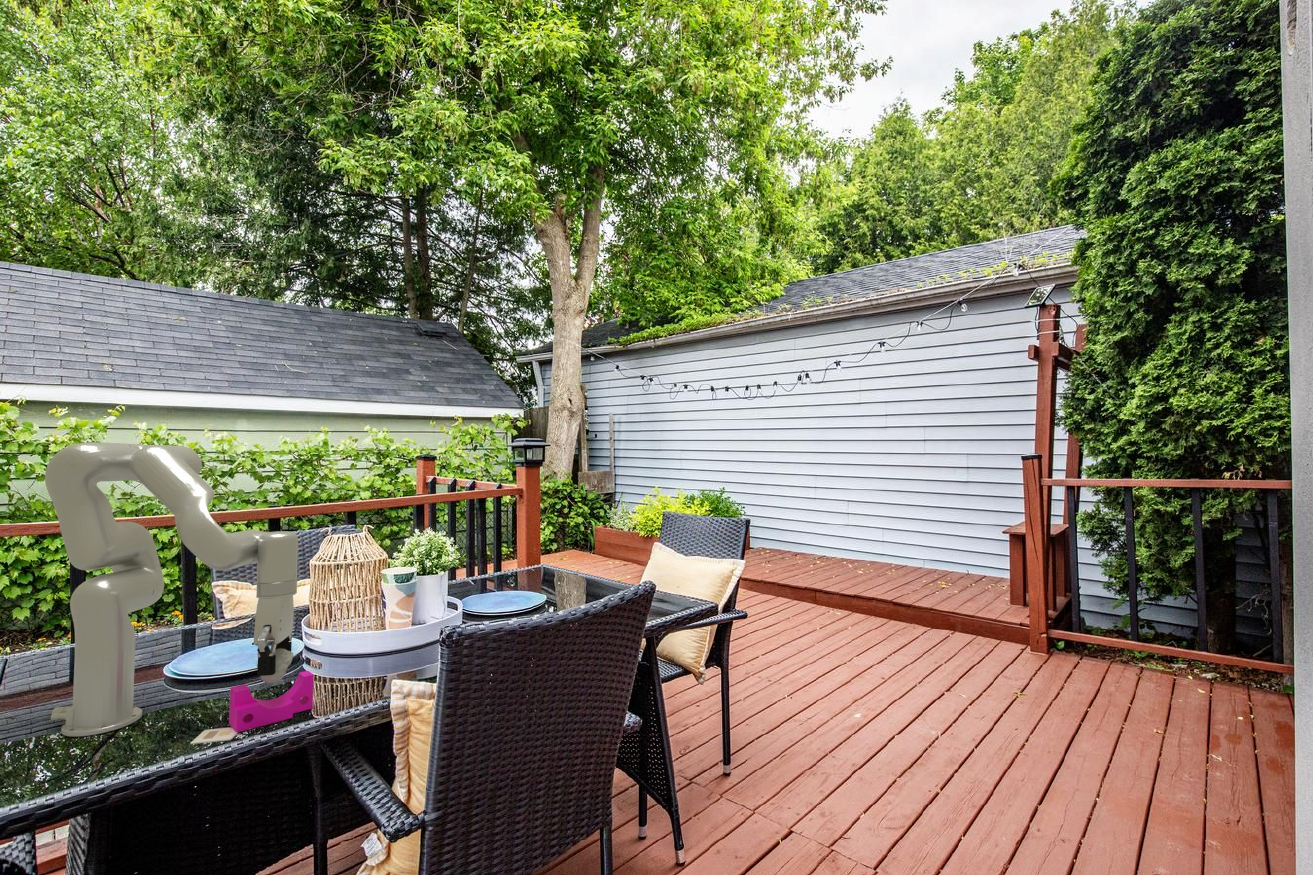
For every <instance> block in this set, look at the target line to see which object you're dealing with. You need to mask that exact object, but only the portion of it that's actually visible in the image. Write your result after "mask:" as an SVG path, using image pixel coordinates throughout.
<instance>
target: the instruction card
mask: <svg viewBox="0 0 1313 875" xmlns="http://www.w3.org/2000/svg"><path fill="white" fill-rule="evenodd" d="M237 734H239V732H237V733H236V732H235V731H234V730H233V728H232V727H231V726H230V727H222V728H221V727H220V728H214V729H213V728H211V729H210V728H209V729H204V730H203V731H202V732H201V733H200V734H199V735H198V736H196V738H194V739H192V741H191V742H190V743H189V745H195V744H203V743H204V744H205V743H215V742H216V743H217V742H224V741H226V742H227V741H231V740H232V739H233V738H234V737H235V736H237Z"/></svg>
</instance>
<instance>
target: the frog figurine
mask: <svg viewBox="0 0 1313 875" xmlns="http://www.w3.org/2000/svg"><path fill="white" fill-rule="evenodd" d="M274 655H276V672H275V674H274V675H267V676H259V678H260V679H261V681H262V682H264V683H267V684H274V683H278V682H279V681H281V680H282V679H283V678H284V677H285V675H286V674H287V669H288V667H289V666H291V664H292V661H293V659H294V652H292V650H291V651H287V650H286V649H281V648H279V649H276V650H275V652H274ZM256 668H257V670H258V663H257V664H256Z"/></svg>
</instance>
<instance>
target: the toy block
mask: <svg viewBox="0 0 1313 875" xmlns="http://www.w3.org/2000/svg"><path fill="white" fill-rule="evenodd" d="M314 678H315V674H314V673H313V672H311V671H310V670H305V671H301V672H298V674H297V678H296V680H295V682H294V683H293V685H292V686H291V687H290V689H288V691H286V692H284V693H283V694H282V695H280V696H279V697H276V698H273V699H272V698H271V699H268V700H262V699H257V698H256V697H253V695H252V693H251V689H250V687H249V686H248V685H247V684H242V685H241V684H240V685H237V686H231V687H230V690H229V691H230V692H229V710H228V711H229V712H228V714H229V715H228V724H229V726H230V727H232V728H233V730H234V731H235V732H236V733H237V732H238V733H241V732H245V731H248V730H251V729H255V728H256V729H257V728H259V727H263V726H268V725H271V724H274V723H278V722H283V721H285V720H289V719H293V718H294V714H296V713H300V712H303V711H308V710H312V709H313V708H314V707H313V706H314ZM238 733H237V734H238Z"/></svg>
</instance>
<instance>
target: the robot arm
mask: <svg viewBox="0 0 1313 875" xmlns="http://www.w3.org/2000/svg"><path fill="white" fill-rule="evenodd" d="M202 468H203V462H202V459H201V457H200V455H199V454H198V453H197V452H196V451H195V450H194V449H192V448H190V447H188V446H184V445H170V444H169V445H168V444H154V445H153V444H141V443H140V444H139V443H117V442H115V443H114V442H97V441H96V442H94V441H91V442H80V443H75V444H72V445H69V446H67V447H64V448H63V449H61V450H59V451H58V452H57V453H56V454H54V455H53V456H52V458H51V459H50V460H49V462H48V464H47V466H46V468H45V474H44V482H45V487H46V490H47V492H48V496H49V497H50V500H51V502H52V505H53V506H54V510H55V512H56V516H57V520H58V525H59V528H60V533H61V537H62V540H63V543H64V548H65V550H66V551H65V552H66V554H67V557H68V559H69V563H70V564H71V565H72V566H73V567H74V568H76V569H77V570H81V571H94V570H100V569H105V568H110V567H111V569H112V571H113V572H110V573H109V572H108V573H105V574H101V575H97V576H94V577H91V578H89V579H87V580H85V581H83V582H82V583H81V584H79V585H78V586H77V587H76V588H75V589H74V591H73V592H72V594H71V597H70V599H69V600H70V602H69V606H70V607H69V608H70V613H71V618H72V622H73V628H74V669H73V672H74V673H73V692H72V693H73V694H72V705H71V706H60V707H59V706H58V707H57V706H56V707H54V708H53V709H52V711H51V716H50V720H51V721H59V720H64V721H65V723H64V724H62V725H61V728H60V729H61V731H60V732H61V734H62V735H64V736H66V737H72V738H73V737H75V738H76V737H78V738H79V737H86V736H88V737H89V736H96V735H99V734H105V733H109V732H112V731H115V730H118V729H122V728H125V727H127V726H129V725H132V724H133V723H135V722H137V721H138V720H140V719H141V718H142V716H143V709H142V708H140V707H137V706H134V694H135V692H134V690H135V665H136V664H135V663H136V662H135V661H136V660H135V659H136V632H135V627H134V625H133V623H132V621H131V619H130V616H129V614H130V613H133V612H136V611H140V610H143V609H145V608H148V607H150V606H152V605H153V604H155V603H156V602H158V601H159V600H160V598H161V597H162V595H163V593H164V589H165V579H164V574H163V571H162V570H163V569H162V566H161V562H160V559H159V556H158V552H157V549H156V548H157V546H156V545H155V541H154V538H153V536H152V534H151V533H150V531H149V530H148V529H147V528H146V527H144V525H142V524H140V523H137V522H133V521H119V522H117V521H116V519H115V517H114V513H113V508H112V504H111V503H110V501H109V499H108V497H107V495H105V493H104V492H103V491H102V490H101V489H100V488H99V487H98V483H99V482H121V481H124V482H128V481H132V482H133V481H134V482H135V481H137V482H140V483H141V484H142V485H143V486H144V487H145V488H146V489H147V490H148V491H149V492H150V493H151V494H152V495H153V496H154V497H155V498H156V499H157V500H158V501H159V502H160V503H161V504H162V505H164V507H165V508H166V509H167V510H168V511H169V512H171V513H172V514H173V516H174V520H175V521H174V523H175V527H176V531H177V532H178V533H177V534H178V536H179V538H180V540H181V543H182V544H183V545H184V546H185V547H186V548H187V550H189V551H190V553H192V554H193V555H194V556H195V557H196V558H197V559H198V560H199V561H200V562H202V563H203V564H204V565H206V567H209V568H210V569H213V570H216V571H221V572H222V571H230V570H233V569H236V568H240V567H241V568H242V567H244V566H248V565H252V564H256V563H257V564H256V598H257V599H258V601H257V603H256V610H255V619H254V630H253V631H254V632H253V645H254V646H257V649H256V651H257V664H258V669H257V676H258V677H260V676H267V675H274V674H275V672H276V655H274V652H275V650H276V649H279V648H281V649H286V650H287V651H291V652H292V642H293V641H292V640H293V635H292V633H293V630H294V618H295V617H294V616H295V613H294V608H295V606H294V595H296V594H297V593H298V559H299V558H298V556H299V554H298V553H299V537H298V534H297V533H296V532H294V531H288V530H287V531H285V530H284V531H283V530H280V531H278V530H276V531H264V530H263V531H262V530H255V529H254V530H253V529H246V530H242V531H235V532H230V533H228V532H227V531H225V529H223V528H222V527H221V526H220V524H218V522H217V521H216V520H215V519H214V518H213V517H212V515H211V514H210V512H209V504H210V503H211V502H212V501H213V499H214V498H215V490H214V488H213V487H212V486H210V485H209V483H207V482H206V481H205V479H203V478H202V477H201V476H200V474H201V471H202Z"/></svg>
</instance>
